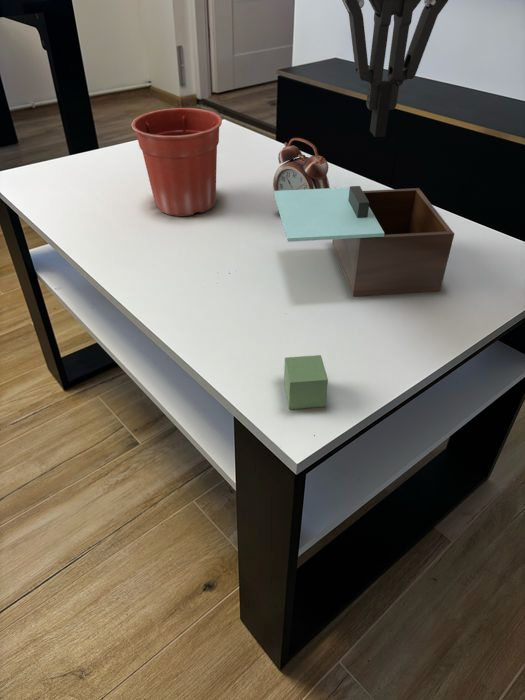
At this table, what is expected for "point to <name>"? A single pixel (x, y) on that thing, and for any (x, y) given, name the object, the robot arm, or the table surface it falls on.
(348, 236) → the light blue board
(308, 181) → the alarm clock
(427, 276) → the case
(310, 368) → the block
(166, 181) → the flower pot
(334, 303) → the table surface
